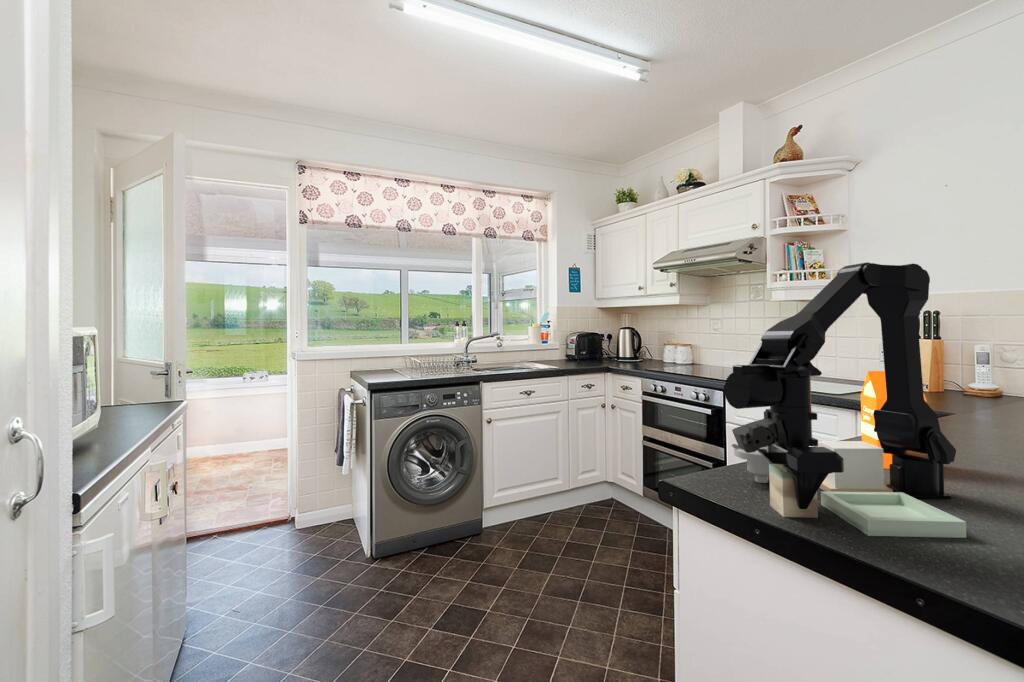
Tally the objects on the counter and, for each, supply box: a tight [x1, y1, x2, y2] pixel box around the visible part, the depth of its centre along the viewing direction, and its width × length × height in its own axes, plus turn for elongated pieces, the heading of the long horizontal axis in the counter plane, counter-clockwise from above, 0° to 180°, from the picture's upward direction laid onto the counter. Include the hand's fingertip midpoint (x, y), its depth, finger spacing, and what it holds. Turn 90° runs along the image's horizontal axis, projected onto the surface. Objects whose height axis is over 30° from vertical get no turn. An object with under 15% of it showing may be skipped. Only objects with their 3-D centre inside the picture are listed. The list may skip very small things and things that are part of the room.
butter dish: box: [816, 440, 894, 492], centre depth 87 cm, size 10×9×8 cm
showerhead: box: [730, 443, 770, 484], centre depth 91 cm, size 9×7×10 cm
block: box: [768, 464, 819, 518], centre depth 76 cm, size 5×5×7 cm
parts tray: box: [820, 490, 967, 539], centre depth 71 cm, size 12×12×2 cm
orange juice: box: [860, 370, 927, 470], centre depth 100 cm, size 8×9×20 cm
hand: (792, 501), depth 76 cm, fingers open, 6 cm apart
